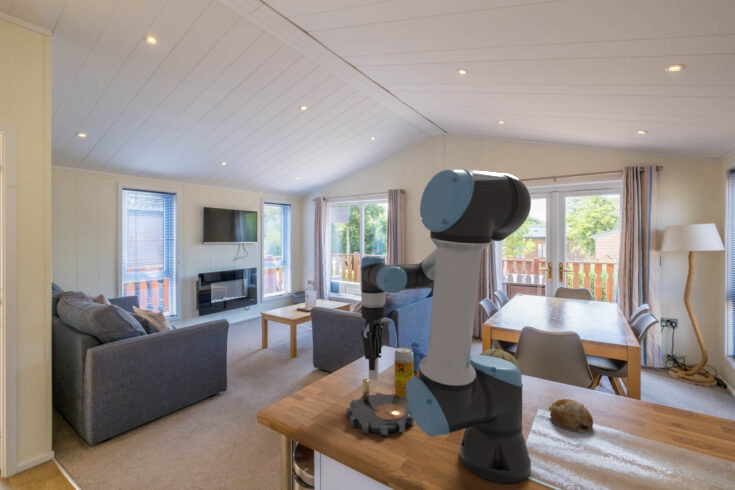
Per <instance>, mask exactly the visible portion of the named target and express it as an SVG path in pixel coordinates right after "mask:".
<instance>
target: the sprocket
mask: <svg viewBox="0 0 735 490" xmlns="http://www.w3.org/2000/svg"><path fill="white" fill-rule="evenodd" d="M361 381H362V395H361V396H360V398H359V399H357V400H356V399H353V400H351V401H350V402H349V403H350V404H349V406H350V407H347V408H346V418H347V419H349V425H350V426H351V427H352V428H354V427H355V428H356V427H357V428H360V429H361V432H362V433H364V434H369V433H370V432H371V433H375V434H377V433H378V434H379V435H380V436H388V435H389V433H393V432H398V433H402V432H404V431H406V427H407V426H408V425H409V426H413V425H414V424H415V423H416V422H415V420H414V418H413V416H412V413H411V411H410V408H409V405H408V401H407V399H401V398H399V397H397V395H396V394H395V393H391V394H383V393H382V392H376V393H375V394H370V379H369V378H363V379H361Z"/></svg>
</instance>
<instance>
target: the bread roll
mask: <svg viewBox="0 0 735 490" xmlns="http://www.w3.org/2000/svg"><path fill="white" fill-rule="evenodd" d="M551 404H552V405H550V406H548V411H550V414H549V416H550V419H551V421H552V422H553V421H554V422H555V423H554V424H555V425H556V426H557V427H561V428H562V429H565V430H567V431H571V432H577V433H579V434H581V433H582V434H583V433H585V432H587V431H589V430H591V429H592V428H593V426H594V418H593V416H592V415H591V413H590V412H589V410H588V409H587V408H586V406H584V404H582V403H580V402H578V401H576V400H573V399H570V398H569V399H567V398H564V399H563V398H562V399H558V400H556V401H555V402H552V403H551Z"/></svg>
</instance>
